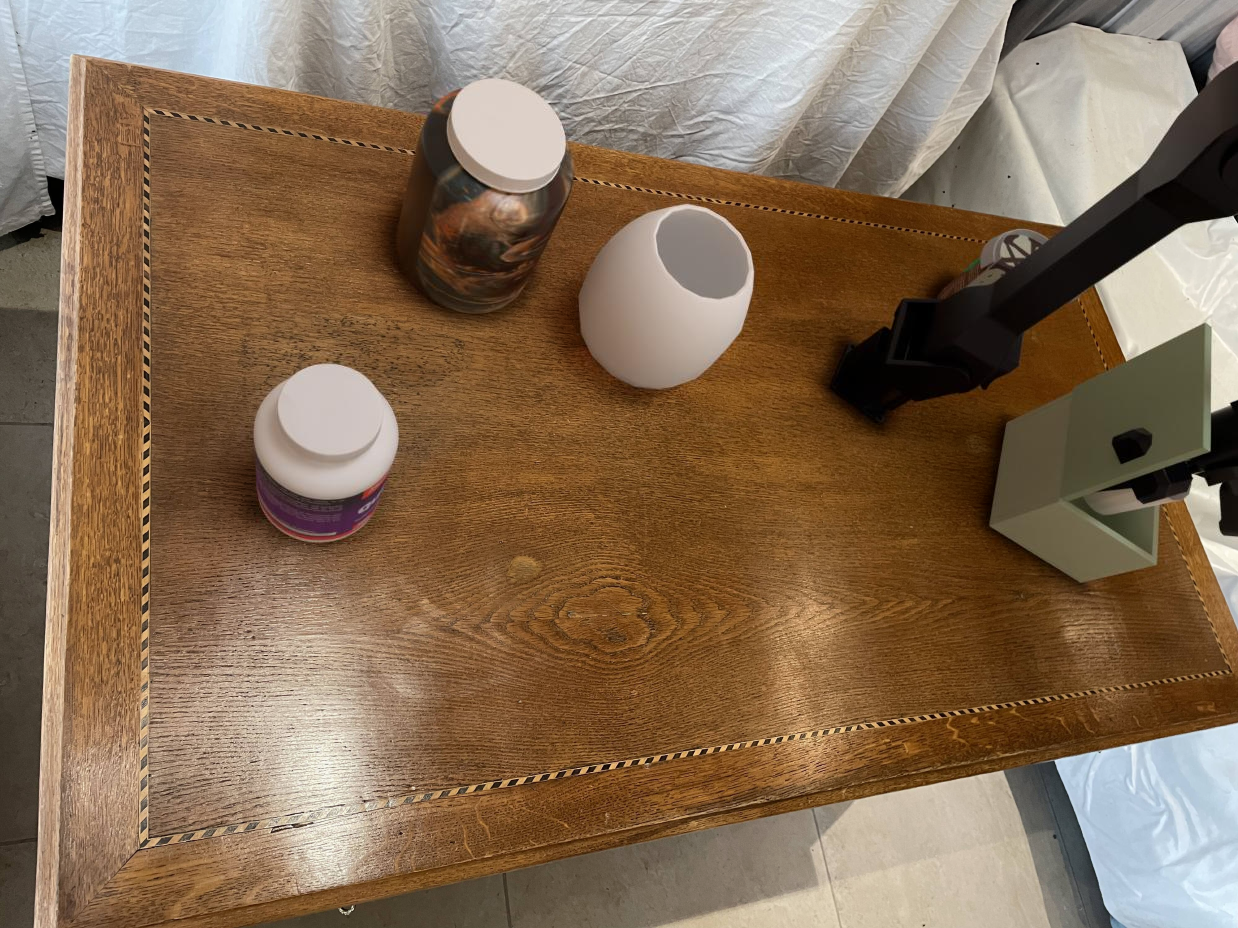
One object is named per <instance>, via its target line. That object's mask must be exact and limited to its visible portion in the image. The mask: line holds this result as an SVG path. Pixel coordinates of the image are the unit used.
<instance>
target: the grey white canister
mask: <svg viewBox="0 0 1238 928" xmlns="http://www.w3.org/2000/svg"><path fill="white" fill-rule="evenodd" d="M1185 462H1186V461H1185ZM1186 464H1187V462H1186ZM1191 488H1192V483H1191V485H1190V487H1189V489H1188V491H1187V492H1185V493H1182V494H1179V495H1175V496H1172V497H1168V498H1165V499H1162V500H1158V501H1154V502H1151V503H1147V504H1142V503H1141V502H1140V501H1138V500H1137V499H1136V497H1135V494H1134V492H1133V490H1132V489H1122V490H1112V491H1103V492H1093V493H1090V494H1088V495H1085V496H1083V498H1084V500H1085V501H1086V503H1087V504H1088V505H1089V506H1090V507H1091V508H1092V509H1093V510H1094V511H1096V512H1098V513H1100V514H1102V515H1111V514H1116V513H1121V512H1126V511H1131V510H1136V509H1141V508H1145V507H1150V506H1155V505H1160V506H1161V505H1164V504H1168V503H1175V502H1180V501H1183V500H1184V499H1186V498H1187V497H1188V496H1189V495H1190V492H1191Z"/></svg>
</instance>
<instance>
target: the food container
mask: <svg viewBox="0 0 1238 928" xmlns="http://www.w3.org/2000/svg"><path fill="white" fill-rule="evenodd" d="M1049 239H1050V238H1047V237H1046V236H1045V235H1043V234H1041V233H1039V232H1038V231H1034V230H1031V229H1026V228H1017V229H1012V230H1008V231H1005V232H1003V233H1001V234H999V235H996V236H994V237H993V238H991V239H989V240H988V241H987V242H986V243H985V245H984V246H983V248H982V250H981V254H980V256H979V257H978V258H977V259H976V260H975V261H973V262H972V263H971V264H970V265H969V266H967V268H965V269H964V271H962V272H961V273H960V274H959V275H957V276H956V277H955V278H954V279H953V280H952V281H951V282H950V283H949V284H947V285H946V286H945V287H944V288H942V289H941V291H940V292H939V294H938V295H937V298H936V299H946V298H948V297H949V296H951V295H953V294H955V293H957V292H958V291H960V290H962V289H964V288H966V287H970V286H979V285H989V284H992V283H993V282H995V281H997V280H998V279H999V278H1000V277H1002V276H1003V275H1004V274H1006V273H1007V272H1008V271H1009V270H1011V269H1012V268H1013V267H1015V266H1016V265H1017V264H1018V263H1020V262H1021V261H1022V260H1024V259H1025V258H1026V257H1027V256H1029V255H1030V254H1031V253H1033V252H1034V251H1035V250H1036V249H1038V248H1039V247H1040V246H1042V245H1043V244H1044V243H1045V242H1047V241H1048V240H1049ZM1080 296H1081V294H1080V295H1079V296H1077V297H1076V298H1074V299H1073V300H1071V301H1070V302H1068V304H1072V303H1073V302H1074V301H1075V300H1077V299H1078V298H1079V297H1080Z"/></svg>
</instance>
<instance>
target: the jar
mask: <svg viewBox="0 0 1238 928" xmlns="http://www.w3.org/2000/svg"><path fill="white" fill-rule="evenodd" d="M574 179H575V164H574V158H573V153H572V149H571V147H570V145H569V142H568V140H567V138H566V134H565V129H564V127H563V124H562V122H561V120H560V117H559V116H558V115H557V113H556V111H555V109H554V108H553V107H552V106H551V105H550V104H549V103H548V102H547V101H546V99H544V98H543V97H542V96H541V95H539V94H538V93H537V92H535V91H534V90H532V89H530V88H529V87H527V86H525V85H523V84H522V83H521V84H520V83H518V82H515V81H513V80H509V79H505V78H504V79H503V78H494V77H493V78H484V79H483V78H482V79H477V80H476V81H473V82H471V83H469V84H467V85H466V86H464V87H461V88H458V89H455V90H453V91H451V92H449V93H447V94H446V95H444V96H443V97H441V98H440V99H439V100H438V101H437V102H436V103H435V104H434V105H433V107H431V109H430V111H428V113H427V116H426V118H425V120H424V122H423V124H422V126H421V130H420V133H419V137H418V139H417V143H416V147H415V151H414V155H413V159H412V163H411V167H410V171H409V176H408V180H407V185H406V189H405V193H404V197H403V203H402V208H401V212H400V217H399V221H398V225H397V229H396V230H397V231H396V253H397V256H398V259H399V260H398V261H399V263H400V265H401V268H402V270H403V272H404V274H405V275H406V277H407V278H408V280H409V281H410V282H411V284H412V285H413V286H414V287H415V289H417V290H418V291H419V292H420V293H421V294H422V295H423V296H425V297H426V298H427V299H429V300H430V301H432V302H433V303H435V304H437V305H439V306H440V307H443V308H445V309H448V310H451V311H453V312H454V311H455V312H458V313H462V314H471V315H472V314H473V315H474V314H475V315H476V314H477V315H479V314H487V313H492V312H495V311H498V310H500V309H503V308H504V307H506V306H508V305H509V304H511V303H512V302H513V301H515V300H516V298H518V297H519V295H521V293H522V291H523V290H524V289H525V287H526V285H527V284H528V282H529V280H530V279H531V276H532V274H533V272H534V271H535V269H536V267H537V264H538V262H539V260H540V259H541V257H542V255H543V253H544V251H545V250H546V248H547V245H548V243H549V241H550V239H551V238H552V235H553V234H554V231H555V229H556V227H557V224H558V223H559V221H560V219H561V216H562V214H563V212H564V210H565V208H566V205H567V204H568V203H567V202H568V200H569V198H570V195H571V192H572V189H573V185H574Z"/></svg>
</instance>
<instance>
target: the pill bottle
mask: <svg viewBox="0 0 1238 928" xmlns="http://www.w3.org/2000/svg"><path fill="white" fill-rule="evenodd" d="M399 437H400V436H399V425H398V421H397V417H396V415H395V412H394V411H393V408H392V406H391V405H390V403H389V402H388V400H387V399H386V397H384V395H383V394H382V393H381V392H380V391H379V390H378V389H377V387H376V386H375V384H374V383H373V382H372V381H371V380H370V379H369V378H368V377H366V376H365V374H363V373H361V372H360V371H357V370H356V369H354V368H352V367H349V366H346V365H342V364H338V363H337V364H336V363H318V364H314V365H309V366H307V367H304V368H303V369H300V370H299V371H297V372H296V373H294V374H293V375H292V376H290V377H289V378H287V379H285V380H283V381H281V382H280V383H278V384H277V385H276V386H275V387H274V388H273V389H271V390H270V392H269V393H268V394H267V395H266V396H265V397H264V399H263V401H262V402H261V404H260V405H259V407H258V410H257V412H256V415H255V419H254V423H253V448H254V449H253V450H254V460H255V461H254V462H255V479H256V480H255V481H256V483H255V484H256V493H257V498H258V503H259V505H260V507H261V510H262V512H263V513H264V515H265V516H266V518H267V520H268V521H270V522H271V524H272V525H273V526H275V528H277V529H278V530H279V531H280V532H282V533H284V534H285V535H287V536H288V537H291V538H293V539H296V540H299V541H303V542H308V543H330V542H336V541H339V540H342V539H345V538H347V537H349V536H352V534H354V533H356V532H357V531H359V530H360V529H361V528H362V527H364V526H365V525H366V524H367V523H368V521H369V520H371V518H372V516H373V515H374V513H375V511H376V509H377V507H378V504H379V502H380V499H381V496H382V493H383V491H384V487H385V485H386V483H387V480H388V477H389V474H390V471H391V469H392V466H393V463H394V461H395V458H396V455H397V452H398V447H399V439H400V438H399Z"/></svg>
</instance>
